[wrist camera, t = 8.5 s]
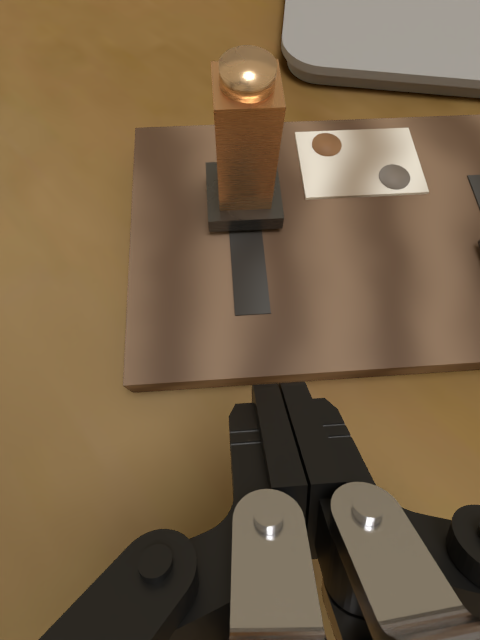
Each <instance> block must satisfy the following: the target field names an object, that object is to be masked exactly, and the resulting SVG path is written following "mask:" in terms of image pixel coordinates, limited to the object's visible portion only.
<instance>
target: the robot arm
mask: <svg viewBox="0 0 480 640" xmlns="http://www.w3.org/2000/svg"><path fill="white" fill-rule="evenodd" d="M229 430H230V451H231V469H232V484H233V505H232V507H231V510H230V512H229V513H228V515H227V516H226V518H225V519H224V520H223V521H222V522H221V523H220V524H219V525H217V526H216V527H214V528H213V529H211V530H209V531H207V532H205V533H202V534H200V535H198V536H195V537H193V538H191V539H188V538H187V537H186V536H185V535H183V534H182V533H180V532H178V531H174V530H170V529H159V530H154V531H151V532H148V533H146V534H144V535H142V536H140V537H139V538H137V539H136V540H135V541H133V542H132V543H131V544H130V545H129V546H128V547H127V548H126V549H125V550H124V551H123V552H122V553H121V554H120V556H119V557H118V558H117V559H116V560H115V561H114V562H113V563H112V564H111V565H110V566H109V567H108V568H107V569H106V570H105V571H104V572H103V573H102V574H101V575H100V576H99V577H98V578H97V579H96V581H95V582H94V583H93V584H92V585H91V586H90V587H89V588H88V589H87V590H86V591H85V592H84V593H83V594H82V595H81V596H80V597H79V598H78V599H77V600H76V601H75V602H74V603H73V604H72V606H71V607H70V608H69V609H68V610H67V611H66V612H65V613H64V614H63V615H62V616H61V617H60V618H59V619H58V620H57V621H56V622H55V623H54V624H53V625H52V626H51V627H50V628H49V629H48V631H47V632H46V633H45V634H44V635H43V636H42V637H41V638H40V639H39V640H327V639H326V636H325V632H324V627H323V622H322V616H321V610H320V605H319V599H318V593H317V587H316V582H315V576H314V570H313V564H312V559H318V561H319V564H320V568H321V572H322V576H323V578H322V588H321V591H322V598H323V602H324V605H325V608H326V611H327V614H328V617H329V620H330V623H331V627H332V630H333V633H334V636H335V639H336V640H480V505H466V506H463V507H461V508H459V509H458V510H457V511H456V512H455V513H454V515H453V517H452V520H447V519H443V518H438V517H433V516H428V515H424V514H419V513H415V512H412V511H409V510H406V509H404V508H402V507H401V506H400V505H399V503H398V502H397V501H396V500H395V498H394V497H393V496H392V495H390V494H389V493H388V492H387V491H385V490H383V489H382V488H380V487H378V486H376V484H375V483H374V481H373V479H372V477H371V475H370V473H369V471H368V469H367V467H366V465H365V463H364V461H363V459H362V457H361V455H360V453H359V451H358V449H357V447H356V445H355V443H354V441H353V439H352V437H350V433H349V431H348V429H347V427H346V426H345V424H344V421H343V419H342V417H341V415H340V413H339V411H338V409H337V408H336V407H334V406H333V405H332V404H331V403H330V402H329V401H327V400H326V399H325V398H317V399H312V397H311V395H310V393H309V390H308V388H307V385H306V383H305V382H289V383H279V384H277V383H275V384H259V385H252V403H242V404H235V406H234V408H233V410H232V412H231V413H230V415H229Z"/></svg>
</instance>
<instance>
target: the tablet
mask: <svg viewBox="0 0 480 640" xmlns="http://www.w3.org/2000/svg"><path fill="white" fill-rule="evenodd" d="M281 50H282V53H283V55H284V57H285V58H286V60H287V64H288V68H289V70H290V71H291V72H292V74H293V75H294V76H296V77H297V78H299V79H301V80H302V81H305V82H308V83H312V84H321V85H333V86H344V87H356V88H367V89H379V90H391V91H402V92H414V93H425V94H437V95H448V96H460V97H471V98H480V0H285V10H284V20H283V30H282V41H281Z"/></svg>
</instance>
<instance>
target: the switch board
mask: <svg viewBox="0 0 480 640" xmlns="http://www.w3.org/2000/svg"><path fill="white" fill-rule="evenodd" d="M205 162H217V156H216V139H215V125H199V126H173V127H147V128H135V149H134V170H133V191H132V211H131V232H130V253H129V274H128V295H127V316H126V337H125V358H124V379H123V386H124V387H126V388H127V389H129V390H130V391H132V392H148V391H163V390H178V389H193V388H208V387H223V386H238V385H254V384H269V383H284V382H299V381H314V380H329V379H344V378H359V377H374V376H389V375H404V374H419V373H434V372H450V371H465V370H480V247H479V245H478V241H479V240H480V115H459V116H433V117H407V118H381V119H355V120H329V121H303V122H284V124H283V131H282V137H281V144H280V151H279V158H278V165H277V168H278V175H279V182H280V190H281V197H282V204H283V212H284V222H283V227H282V228H281V229H261V230H241V231H221V232H209V225H208V208H207V185H206V163H205Z"/></svg>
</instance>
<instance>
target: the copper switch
mask: <svg viewBox="0 0 480 640" xmlns="http://www.w3.org/2000/svg"><path fill="white" fill-rule="evenodd" d="M211 71H212V88H213V105H214V122H215V139H216V156H217V162H205V163H206V185H207V208H208V225H209V232H221V231H241V230H261V229H281V228H282V227H283V222H284V212H283V204H282V197H281V190H280V182H279V175H278V168H277V165H278V158H279V151H280V144H281V137H282V131H283V124H284V117H285V110H286V105H285V99H284V92H283V86H282V80H281V74H280V67H279V61H278V59H275V57H274V56H273V55H272V54H271V53H270V52H269V51H267V50H265V49H263V48H261V47H257V46H251V45H243V46H237V47H234V48H231V49H229V50H227V51H226V52H225V53H224V54H223V55H222V56H221V57H220V60H219V61H211Z"/></svg>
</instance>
